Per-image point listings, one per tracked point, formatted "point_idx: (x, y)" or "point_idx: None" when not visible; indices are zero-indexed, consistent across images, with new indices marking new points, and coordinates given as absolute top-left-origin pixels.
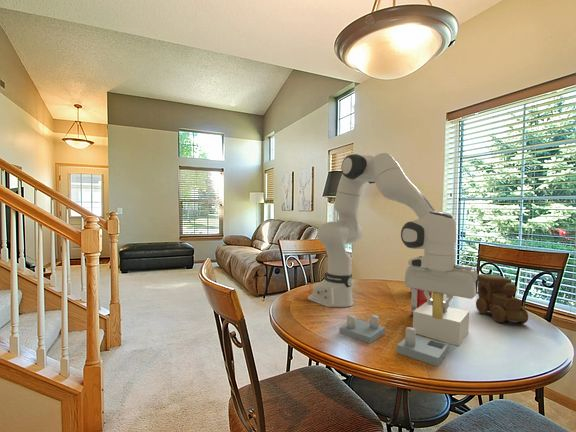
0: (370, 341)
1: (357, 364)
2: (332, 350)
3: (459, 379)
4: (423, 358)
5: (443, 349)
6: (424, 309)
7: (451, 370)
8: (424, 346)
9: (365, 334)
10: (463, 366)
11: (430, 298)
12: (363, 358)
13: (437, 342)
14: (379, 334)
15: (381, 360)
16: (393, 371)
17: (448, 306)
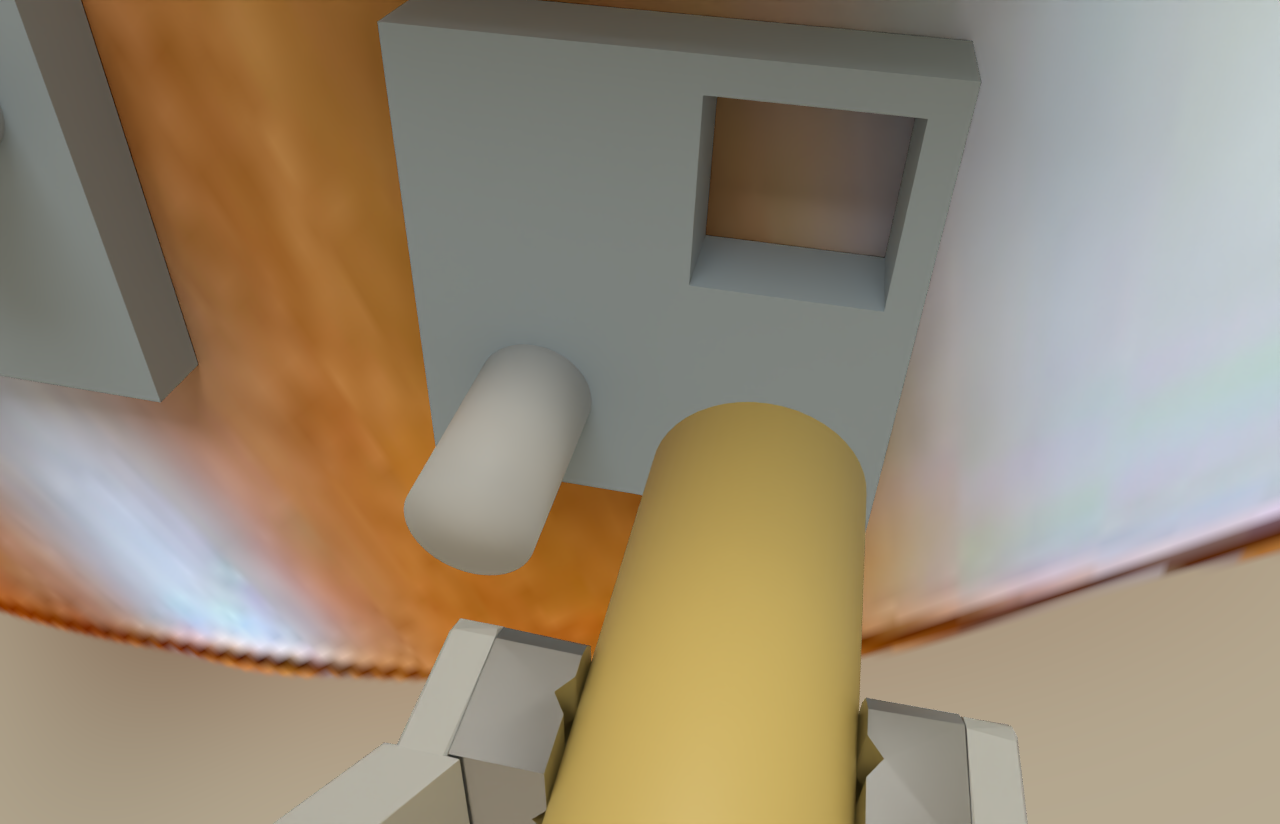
0: (185, 373)
1: (370, 674)
2: (137, 596)
3: (1057, 576)
4: None
5: (906, 309)
6: None
7: (994, 474)
8: (681, 354)
9: (77, 360)
10: (1134, 338)
11: (456, 797)
12: (344, 602)
13: (805, 101)
14: (109, 166)
15: (448, 576)
16: None
17: (1012, 759)
